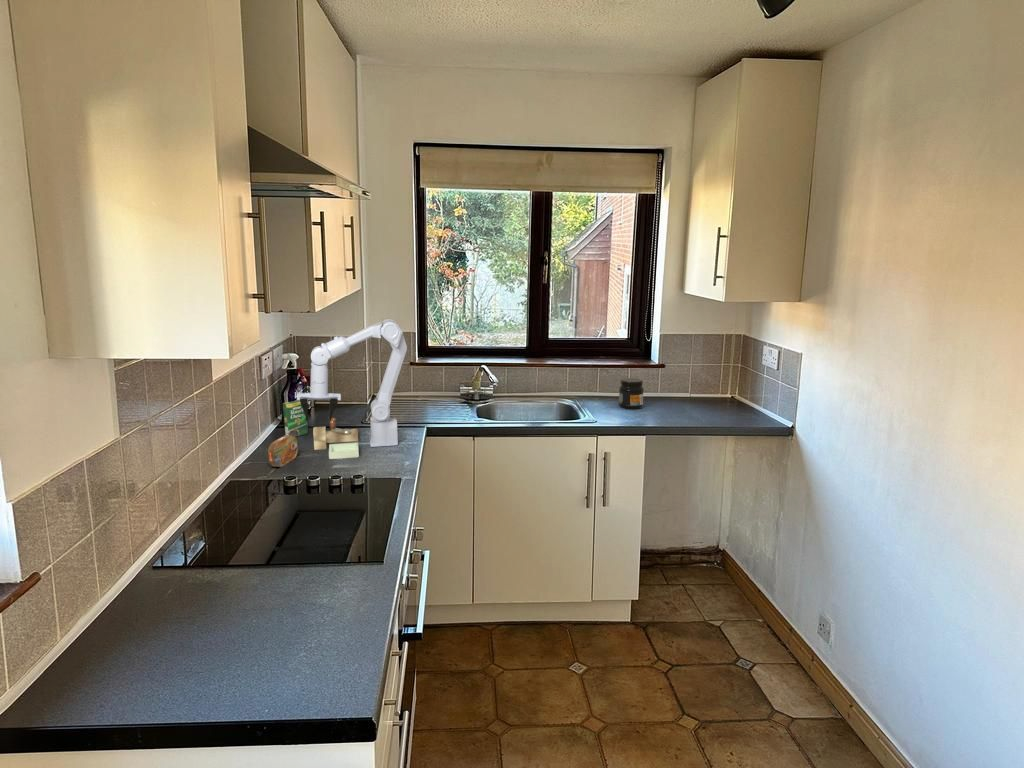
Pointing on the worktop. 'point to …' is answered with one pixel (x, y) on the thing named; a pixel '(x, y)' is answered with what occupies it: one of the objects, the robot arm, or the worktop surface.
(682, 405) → the worktop surface
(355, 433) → the crank base
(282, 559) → the worktop surface
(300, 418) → the green cardboard box
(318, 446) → the block
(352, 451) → the tray
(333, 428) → the crank
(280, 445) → the tin
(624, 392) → the supplement container
